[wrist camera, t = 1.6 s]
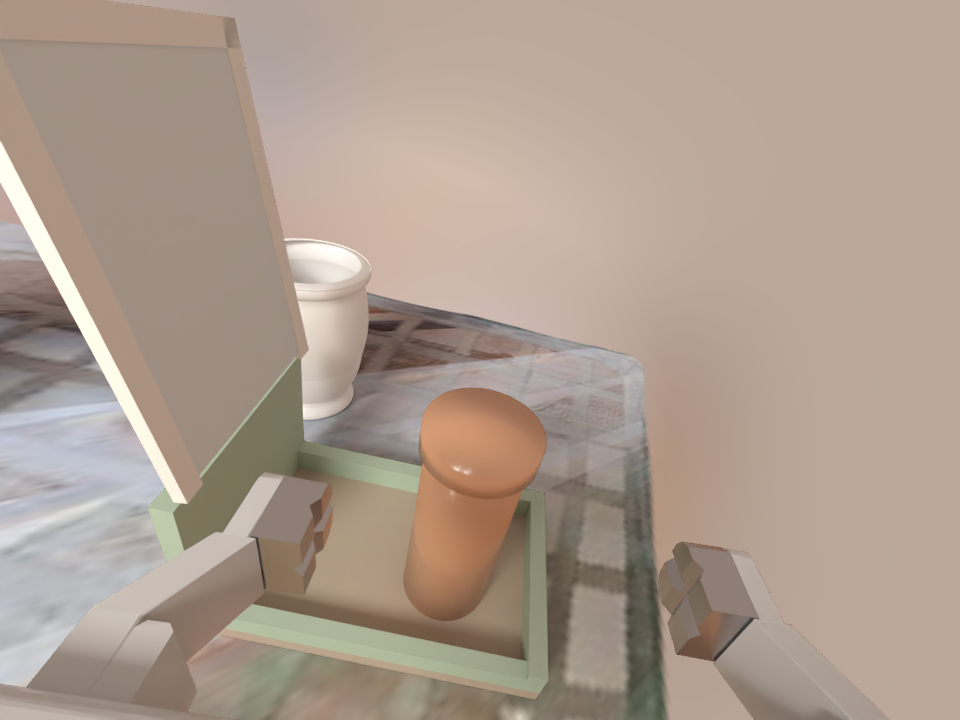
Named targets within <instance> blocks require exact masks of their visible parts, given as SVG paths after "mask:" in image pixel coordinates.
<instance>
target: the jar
mask: <svg viewBox="0 0 960 720" xmlns="http://www.w3.org/2000/svg"><path fill="white" fill-rule="evenodd" d="M284 241H285V245H286V250H287V254H288V259H289V263H290V268H291V272H292V277H293V281H294V286H295V290H296V294H297V299H298V303H299V308H300V312H301V317H302V321H303V326H304V330H305V335H306V339H307V344H308V348H309V350H308V351H307V353H306V354H305V355H304V357H303V358H302V359H301V372H302V401H303V420H316V419H322V418H327V417H330V416H333V415H335V414H337V413H339V412H341V411H342V410H343V409H345V408H346V407H347V406H348V405H349V404H350V402H351V401H352V398H353V395H354V389H353V385H352V382H353V380H354V379H355V377H356V375H357V372H358V369H359V366H360V362H361V357H362V353H363V350H364V347H365V343H366V339H367V333H368V322H369V312H368V300H367V293H366V289H365V286H366V285H367V283H368V282H369V280H370V278H371V266H370V264H369V262H368V261H367V259H366V258H365V257H364V256H362V255H361V254H359V253H358V252H356V251H354V250H352V249H350V248H347V247H345V246H342V245H339V244H336V243H332V242H327V241H321V240H314V239H302V238H289V239H284Z"/></svg>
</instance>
